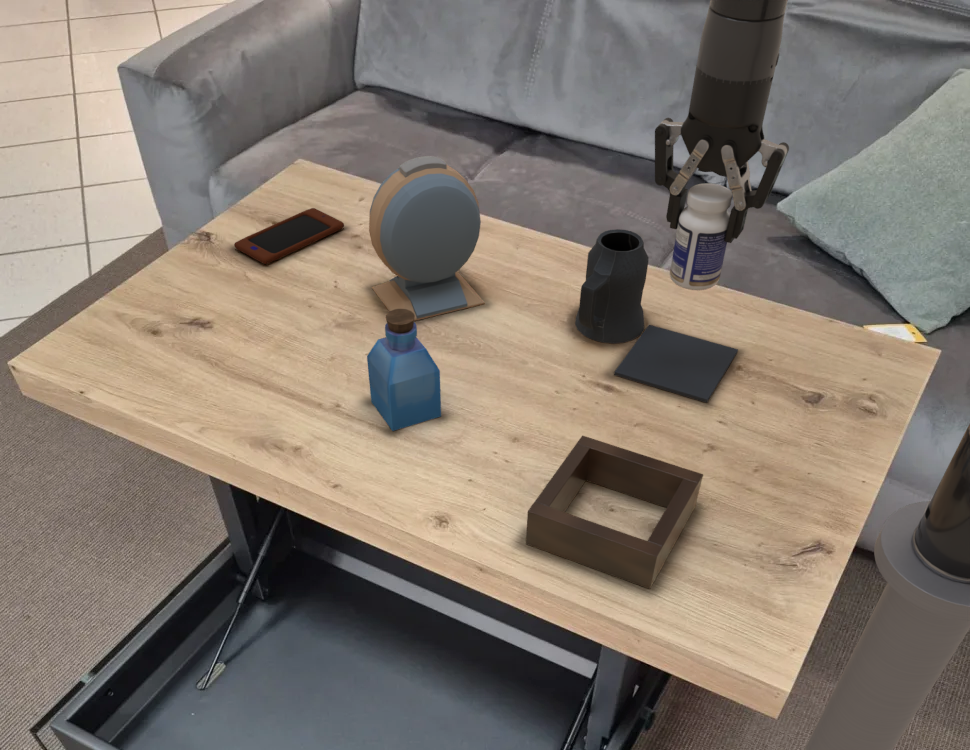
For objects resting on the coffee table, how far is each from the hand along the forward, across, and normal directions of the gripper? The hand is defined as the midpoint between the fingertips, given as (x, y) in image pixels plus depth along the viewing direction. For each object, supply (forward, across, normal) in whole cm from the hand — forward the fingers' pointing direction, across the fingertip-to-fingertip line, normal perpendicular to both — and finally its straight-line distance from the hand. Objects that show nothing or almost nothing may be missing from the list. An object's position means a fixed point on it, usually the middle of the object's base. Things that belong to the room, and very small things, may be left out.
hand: (702, 232), depth 104 cm
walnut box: (+17, +4, -31) cm, 35 cm away
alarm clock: (+17, -35, -1) cm, 39 cm away
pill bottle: (+6, 0, 0) cm, 6 cm away
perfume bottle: (+17, -25, -24) cm, 39 cm away
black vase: (+17, -11, +3) cm, 21 cm away
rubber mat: (+17, 0, 0) cm, 17 cm away
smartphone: (+17, -60, +3) cm, 62 cm away
